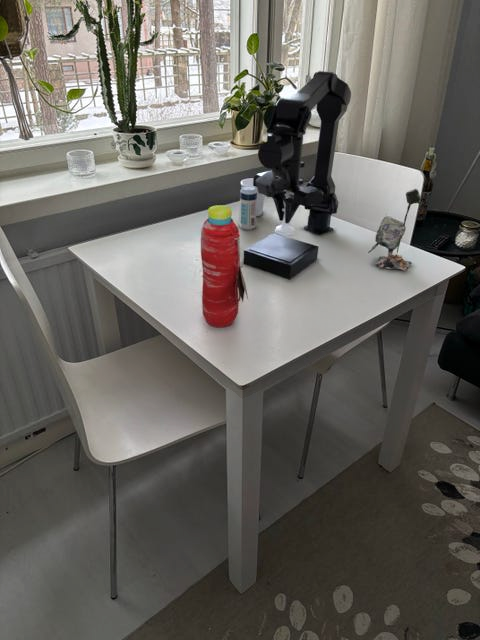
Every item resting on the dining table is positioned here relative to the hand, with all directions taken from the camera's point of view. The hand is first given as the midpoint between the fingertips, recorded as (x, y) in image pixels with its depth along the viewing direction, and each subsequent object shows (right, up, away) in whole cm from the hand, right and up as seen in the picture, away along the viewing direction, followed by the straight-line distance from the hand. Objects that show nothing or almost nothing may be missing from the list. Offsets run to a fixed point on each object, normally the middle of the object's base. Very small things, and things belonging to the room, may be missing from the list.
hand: (284, 221), depth 121 cm
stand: (0, -9, +6) cm, 11 cm away
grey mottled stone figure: (+28, -10, +6) cm, 30 cm away
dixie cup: (-7, +10, +35) cm, 37 cm away
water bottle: (-14, -25, -18) cm, 34 cm away
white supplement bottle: (-9, +3, +25) cm, 27 cm away
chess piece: (0, -2, +2) cm, 3 cm away
